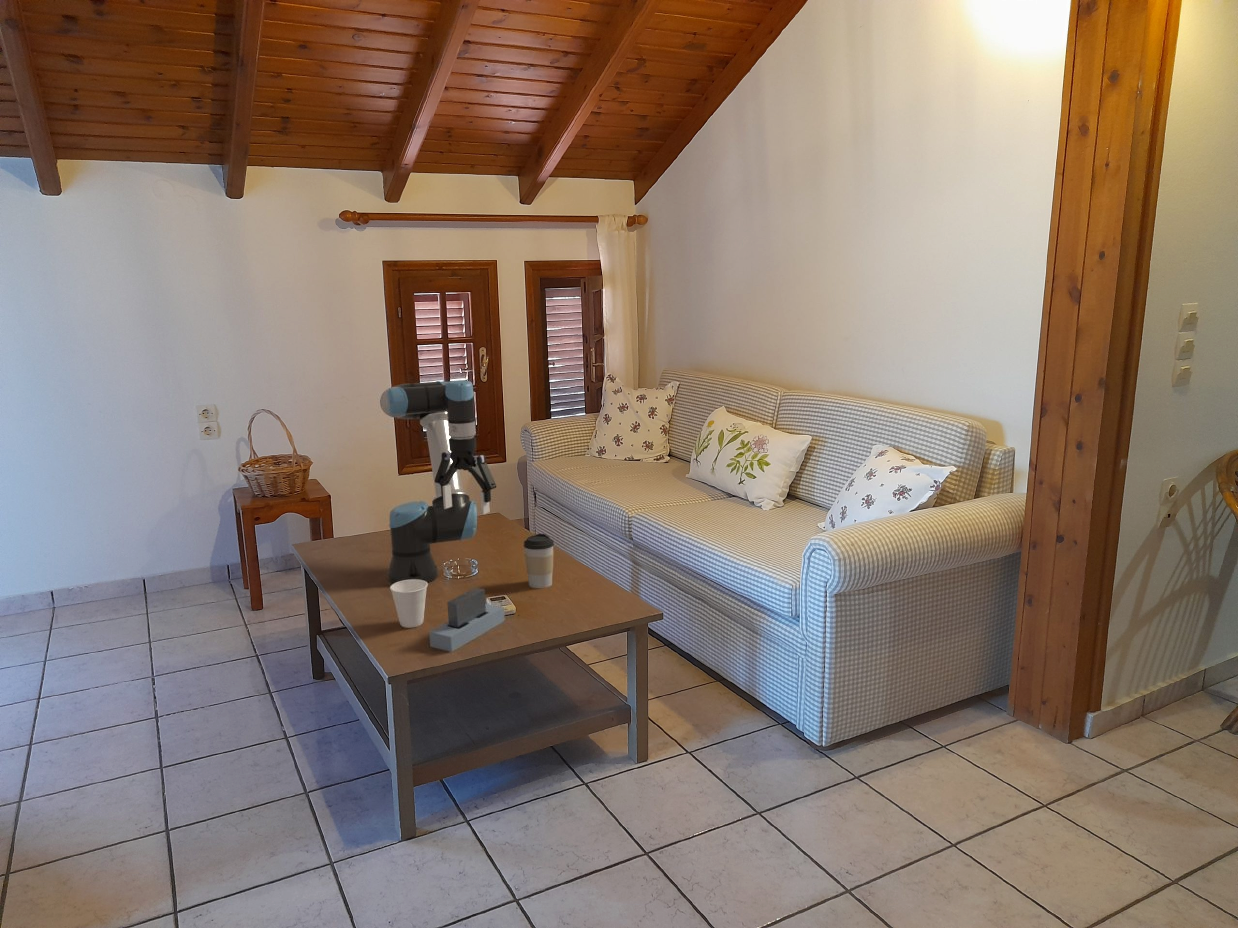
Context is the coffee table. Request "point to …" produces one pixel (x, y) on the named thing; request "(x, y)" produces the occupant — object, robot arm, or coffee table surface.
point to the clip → (466, 608)
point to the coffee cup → (539, 560)
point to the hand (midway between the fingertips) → (466, 510)
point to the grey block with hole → (466, 630)
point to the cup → (410, 601)
